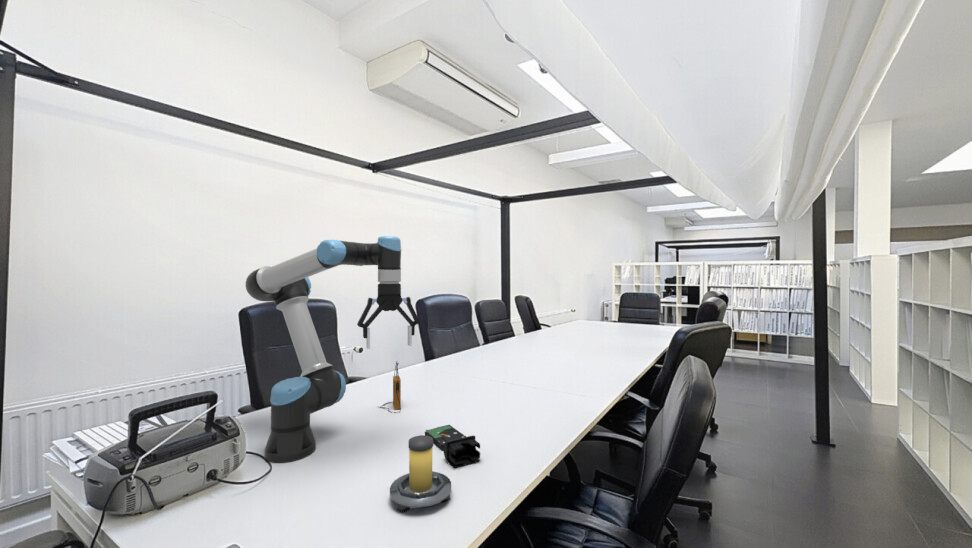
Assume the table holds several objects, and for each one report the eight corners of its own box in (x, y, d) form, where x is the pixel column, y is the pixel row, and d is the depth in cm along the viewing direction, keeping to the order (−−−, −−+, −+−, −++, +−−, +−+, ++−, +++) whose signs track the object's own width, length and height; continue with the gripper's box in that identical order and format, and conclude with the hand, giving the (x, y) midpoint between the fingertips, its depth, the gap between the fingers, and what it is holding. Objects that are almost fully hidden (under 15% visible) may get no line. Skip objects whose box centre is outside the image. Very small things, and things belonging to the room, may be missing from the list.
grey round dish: (396, 522, 93) (396, 506, 93) (385, 488, 108) (385, 474, 108) (459, 506, 100) (459, 491, 100) (441, 476, 114) (441, 463, 114)
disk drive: (469, 446, 136) (449, 431, 149) (469, 437, 136) (449, 423, 149) (442, 453, 131) (423, 437, 143) (442, 444, 131) (423, 429, 143)
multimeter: (376, 404, 179) (376, 360, 179) (398, 401, 182) (398, 358, 182) (377, 415, 165) (377, 367, 165) (401, 412, 168) (401, 365, 168)
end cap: (470, 453, 130) (470, 432, 130) (481, 461, 124) (481, 440, 124) (443, 460, 125) (443, 438, 125) (452, 469, 119) (452, 447, 119)
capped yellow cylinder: (411, 494, 100) (411, 447, 100) (406, 482, 105) (406, 437, 105) (435, 489, 102) (436, 443, 102) (429, 477, 108) (429, 433, 108)
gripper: (423, 282, 139) (423, 342, 139) (349, 283, 130) (348, 347, 129) (428, 282, 133) (428, 345, 133) (350, 283, 123) (350, 351, 123)
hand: (389, 346), depth 131 cm, fingers open, 13 cm apart
